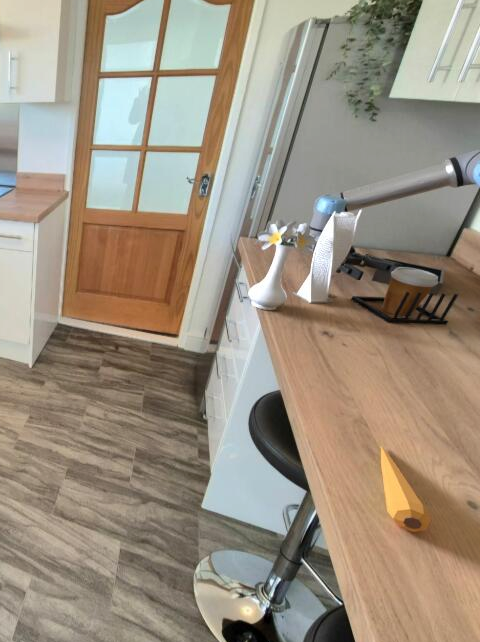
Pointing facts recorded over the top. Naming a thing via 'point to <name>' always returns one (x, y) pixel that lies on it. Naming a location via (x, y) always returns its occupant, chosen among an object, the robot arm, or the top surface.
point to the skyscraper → (329, 256)
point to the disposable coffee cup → (407, 288)
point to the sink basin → (386, 277)
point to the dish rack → (422, 310)
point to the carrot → (402, 498)
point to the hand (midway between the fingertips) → (385, 276)
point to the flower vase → (279, 261)
